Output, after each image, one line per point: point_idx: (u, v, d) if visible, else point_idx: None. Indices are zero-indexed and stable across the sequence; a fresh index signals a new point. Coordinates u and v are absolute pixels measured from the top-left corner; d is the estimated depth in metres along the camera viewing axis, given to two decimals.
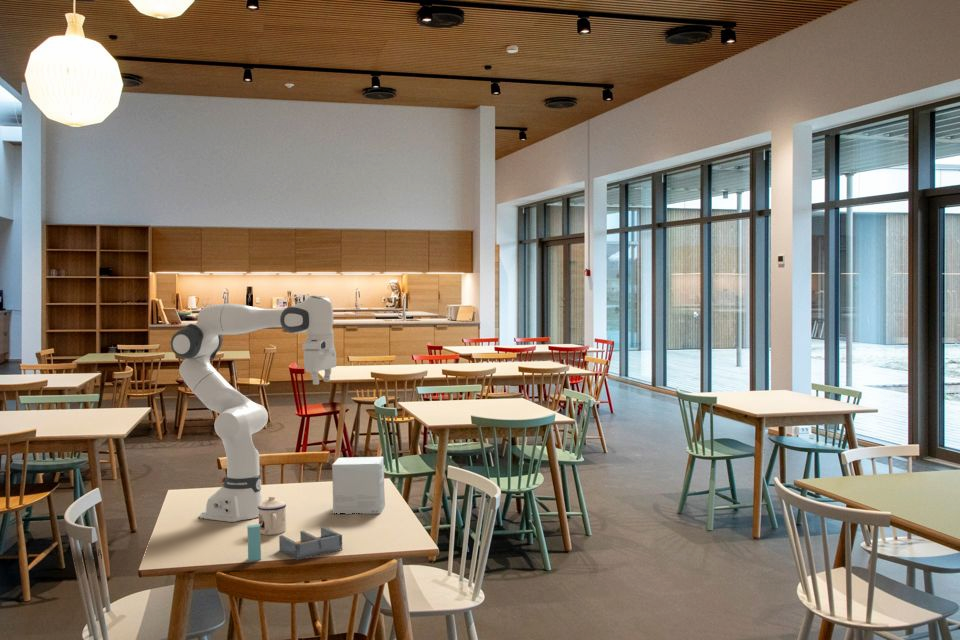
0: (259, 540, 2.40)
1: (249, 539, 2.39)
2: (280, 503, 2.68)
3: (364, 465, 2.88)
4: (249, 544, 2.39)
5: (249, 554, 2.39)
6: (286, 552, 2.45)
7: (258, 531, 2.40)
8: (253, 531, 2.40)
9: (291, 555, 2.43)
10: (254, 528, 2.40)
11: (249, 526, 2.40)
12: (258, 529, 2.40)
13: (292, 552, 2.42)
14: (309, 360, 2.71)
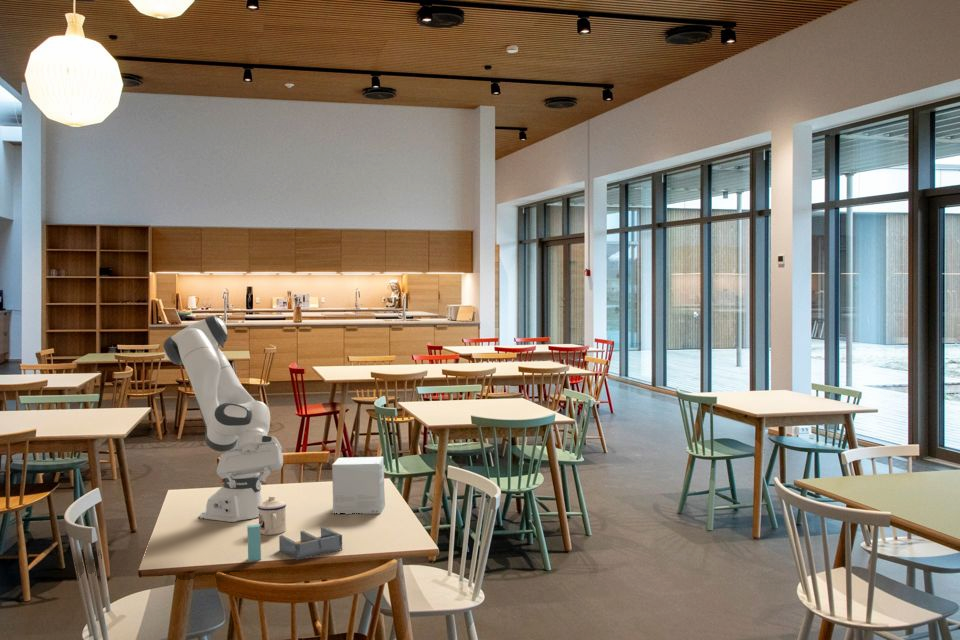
0: (259, 540, 2.40)
1: (249, 539, 2.39)
2: (280, 503, 2.68)
3: (364, 465, 2.88)
4: (249, 544, 2.39)
5: (249, 554, 2.39)
6: (286, 552, 2.45)
7: (258, 531, 2.40)
8: (253, 531, 2.40)
9: (291, 555, 2.43)
10: (254, 528, 2.40)
11: (249, 526, 2.40)
12: (258, 529, 2.40)
13: (292, 552, 2.42)
14: (281, 455, 2.53)
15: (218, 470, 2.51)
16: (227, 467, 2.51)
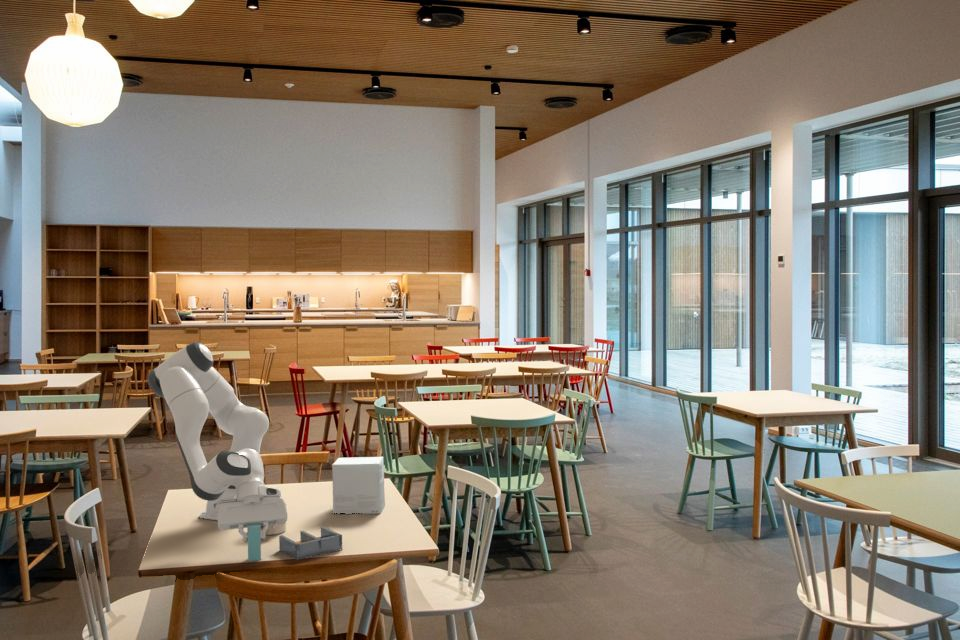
0: (259, 540, 2.40)
1: (249, 539, 2.39)
2: None
3: (364, 465, 2.88)
4: (249, 544, 2.39)
5: (249, 554, 2.39)
6: (286, 552, 2.45)
7: (258, 531, 2.40)
8: (253, 531, 2.40)
9: (291, 555, 2.43)
10: (254, 528, 2.40)
11: (249, 526, 2.40)
12: (258, 529, 2.40)
13: (292, 552, 2.42)
14: None
15: (220, 522, 2.40)
16: (230, 519, 2.41)
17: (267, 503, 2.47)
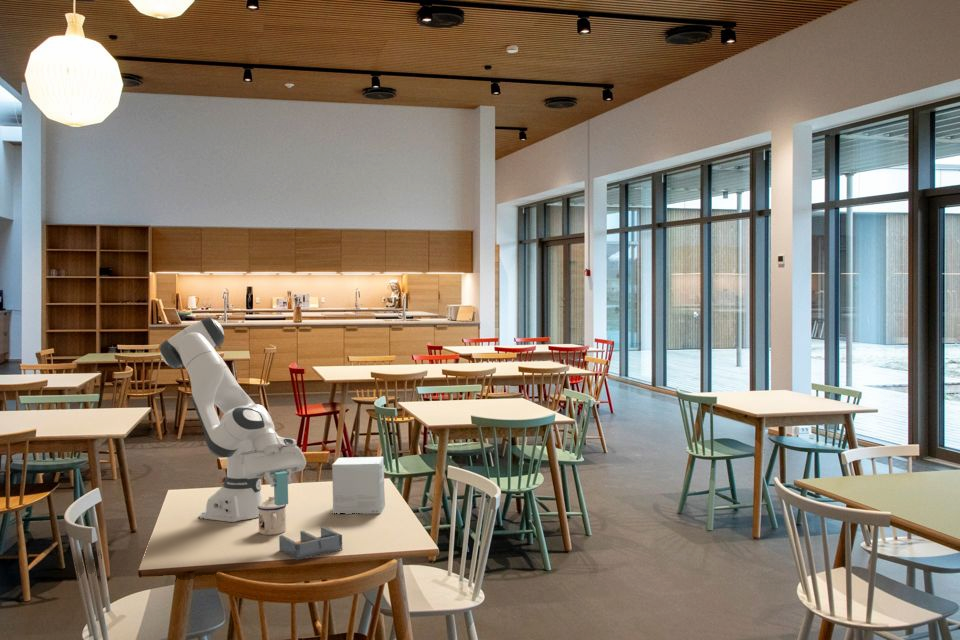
0: (286, 485, 2.56)
1: (278, 485, 2.54)
2: None
3: (364, 465, 2.88)
4: (278, 489, 2.54)
5: (278, 499, 2.54)
6: (286, 552, 2.45)
7: (286, 476, 2.56)
8: (282, 477, 2.55)
9: (291, 555, 2.43)
10: (282, 474, 2.55)
11: (277, 473, 2.55)
12: (286, 475, 2.56)
13: (292, 552, 2.42)
14: None
15: (249, 470, 2.52)
16: (257, 468, 2.54)
17: (286, 452, 2.63)
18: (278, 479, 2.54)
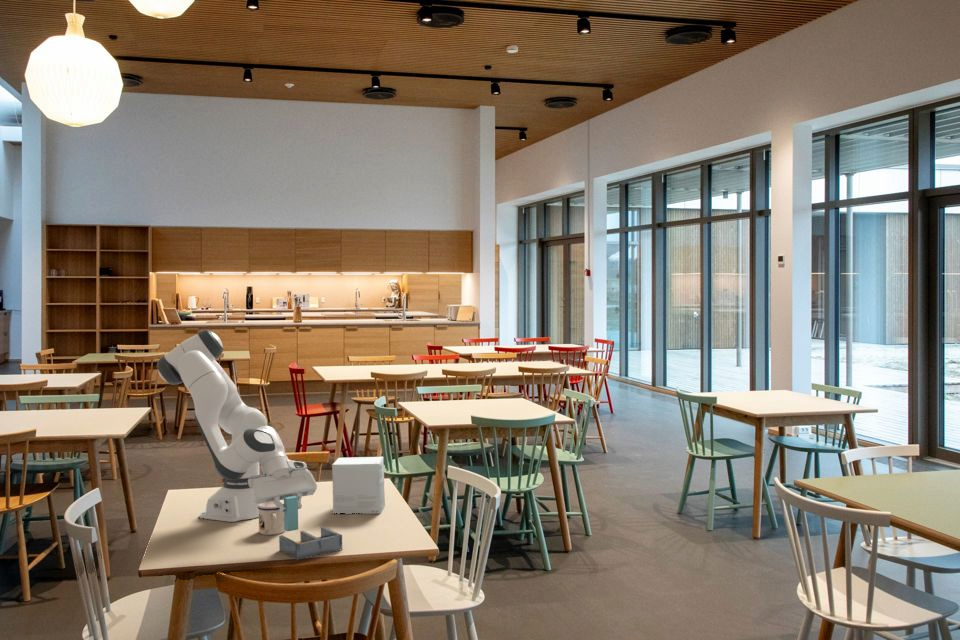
0: (297, 510, 2.49)
1: (288, 510, 2.48)
2: None
3: (364, 465, 2.88)
4: (288, 515, 2.48)
5: (288, 524, 2.48)
6: (286, 552, 2.45)
7: (296, 501, 2.49)
8: (292, 502, 2.48)
9: (291, 555, 2.43)
10: (292, 499, 2.48)
11: (287, 498, 2.48)
12: (296, 500, 2.49)
13: (292, 552, 2.42)
14: None
15: (259, 495, 2.45)
16: (267, 493, 2.47)
17: (296, 476, 2.56)
18: (288, 504, 2.48)
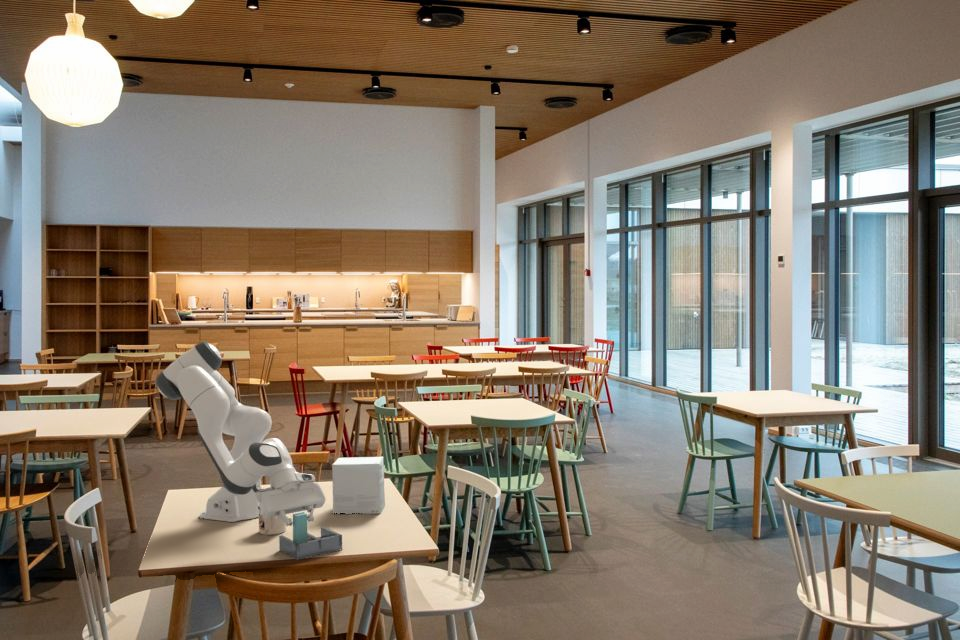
0: (306, 527, 2.47)
1: (297, 528, 2.45)
2: None
3: (364, 465, 2.88)
4: (297, 532, 2.45)
5: (297, 542, 2.45)
6: (286, 552, 2.45)
7: (305, 518, 2.46)
8: (301, 519, 2.45)
9: (291, 555, 2.43)
10: (302, 516, 2.45)
11: (296, 515, 2.45)
12: (305, 517, 2.46)
13: (292, 552, 2.42)
14: None
15: (267, 509, 2.42)
16: (276, 506, 2.44)
17: (304, 488, 2.53)
18: (297, 521, 2.45)
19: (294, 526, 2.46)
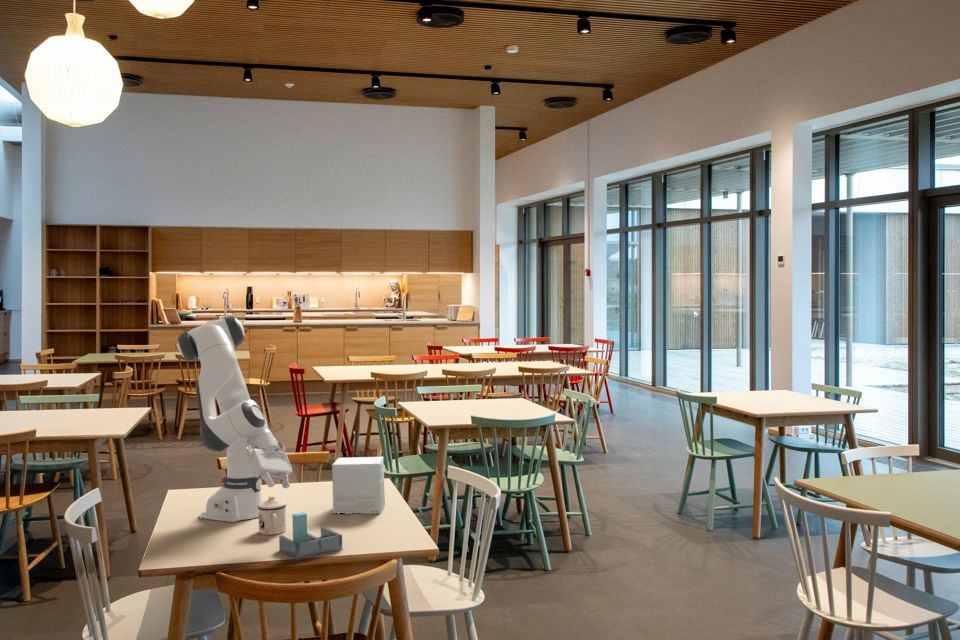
0: (306, 527, 2.47)
1: (297, 527, 2.45)
2: (280, 503, 2.68)
3: (364, 465, 2.88)
4: (297, 532, 2.45)
5: (297, 542, 2.45)
6: (286, 552, 2.45)
7: (305, 518, 2.46)
8: (301, 519, 2.46)
9: (291, 555, 2.43)
10: (301, 516, 2.46)
11: (296, 515, 2.46)
12: (305, 517, 2.46)
13: (292, 552, 2.42)
14: None
15: (262, 466, 2.45)
16: (266, 465, 2.48)
17: (278, 456, 2.59)
18: (297, 521, 2.45)
19: (294, 526, 2.46)
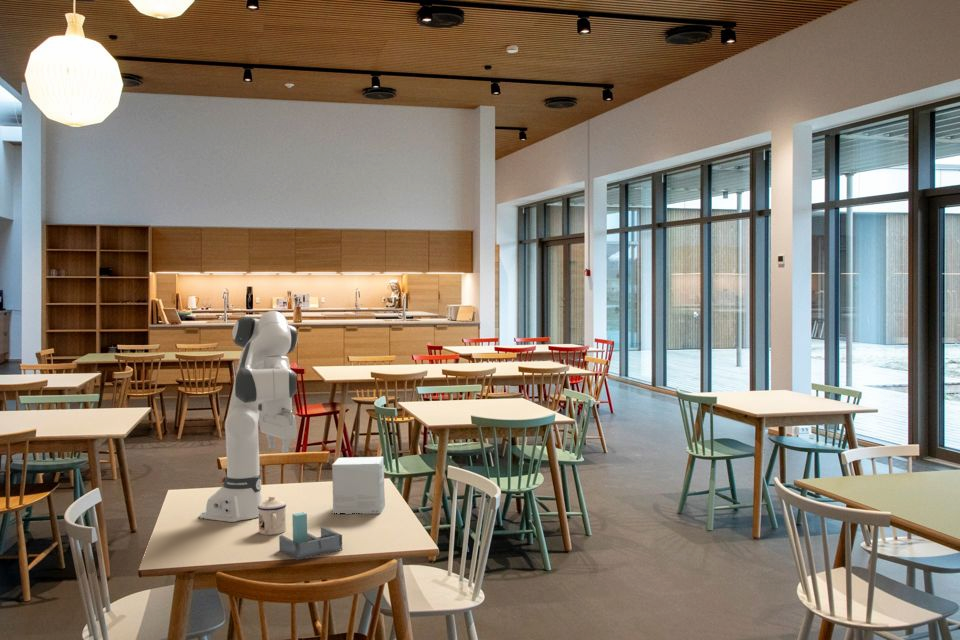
0: (306, 527, 2.47)
1: (297, 527, 2.45)
2: (280, 503, 2.68)
3: (364, 465, 2.88)
4: (297, 532, 2.45)
5: (297, 542, 2.45)
6: (286, 552, 2.45)
7: (305, 518, 2.46)
8: (301, 519, 2.46)
9: (291, 555, 2.43)
10: (301, 516, 2.46)
11: (296, 515, 2.46)
12: (305, 517, 2.46)
13: (292, 552, 2.42)
14: None
15: None
16: None
17: None
18: (297, 521, 2.45)
19: (294, 526, 2.46)
